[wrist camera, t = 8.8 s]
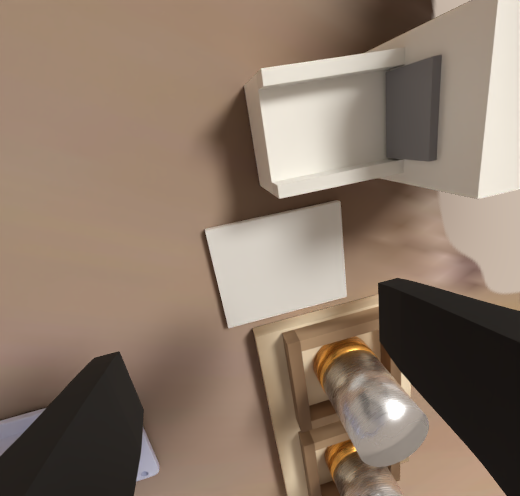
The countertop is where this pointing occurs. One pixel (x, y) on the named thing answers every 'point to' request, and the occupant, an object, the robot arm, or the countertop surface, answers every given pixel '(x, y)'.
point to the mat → (279, 262)
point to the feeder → (399, 110)
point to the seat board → (313, 389)
